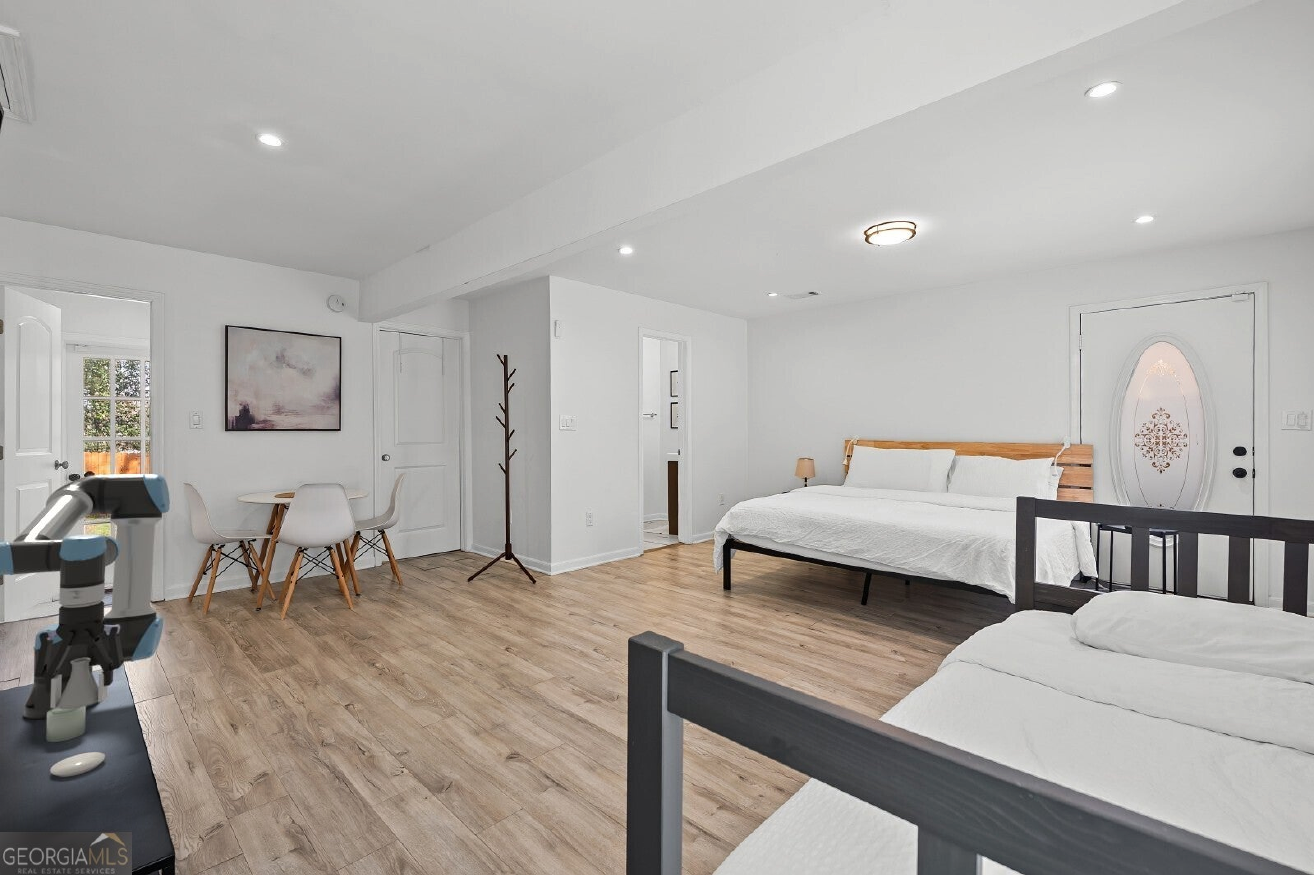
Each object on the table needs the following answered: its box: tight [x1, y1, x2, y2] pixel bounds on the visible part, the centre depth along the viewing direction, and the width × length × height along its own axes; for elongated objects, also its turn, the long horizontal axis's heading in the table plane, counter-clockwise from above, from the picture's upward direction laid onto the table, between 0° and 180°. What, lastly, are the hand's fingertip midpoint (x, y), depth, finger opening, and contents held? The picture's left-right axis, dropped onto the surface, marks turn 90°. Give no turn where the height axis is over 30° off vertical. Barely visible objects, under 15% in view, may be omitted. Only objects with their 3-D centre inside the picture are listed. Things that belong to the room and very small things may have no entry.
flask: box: [57, 658, 98, 709], centre depth 137 cm, size 7×7×10 cm
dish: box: [49, 751, 106, 778], centre depth 137 cm, size 9×9×1 cm
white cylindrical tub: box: [46, 706, 87, 743], centre depth 152 cm, size 7×7×7 cm
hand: (79, 702), depth 137 cm, fingers closed on flask, 7 cm apart
